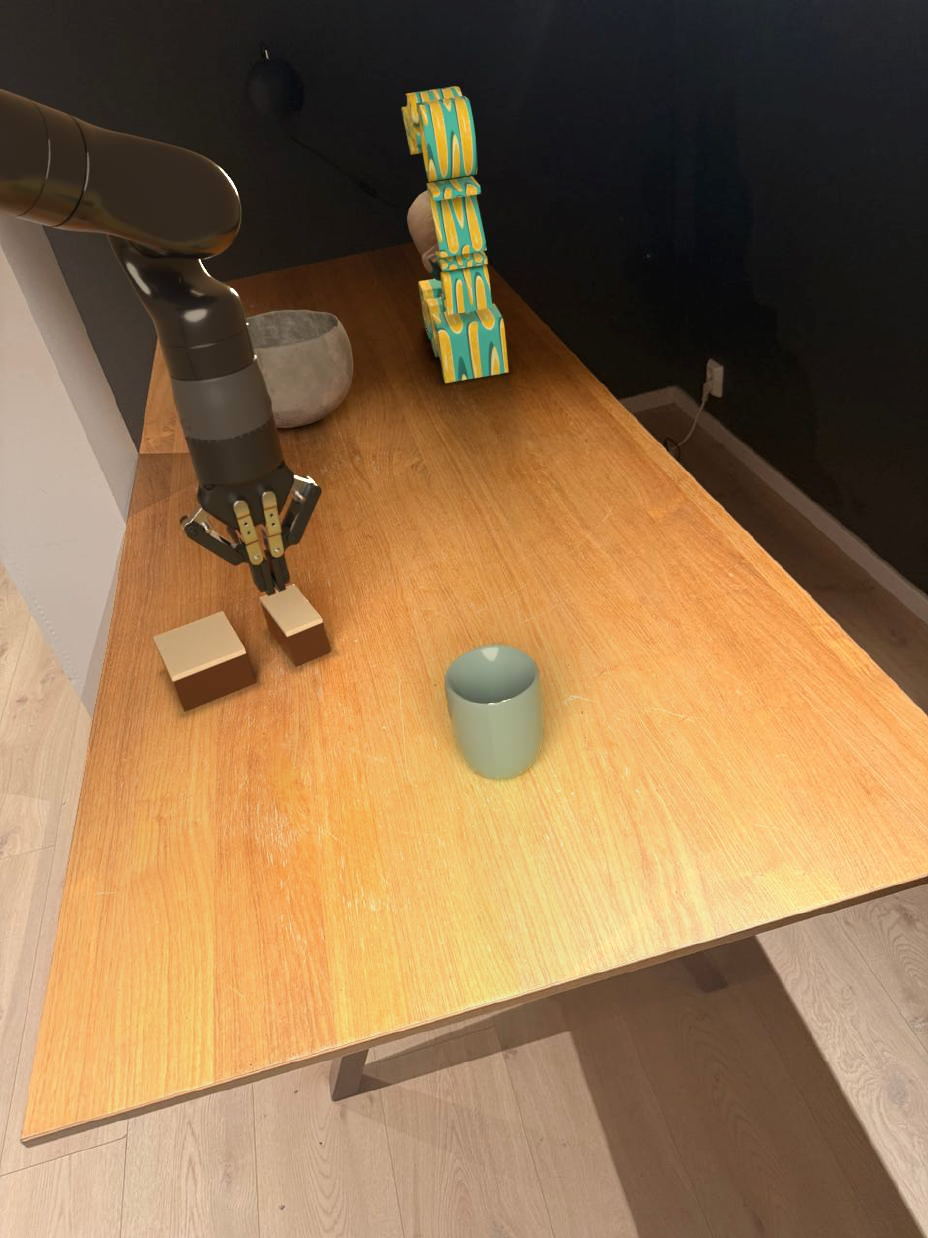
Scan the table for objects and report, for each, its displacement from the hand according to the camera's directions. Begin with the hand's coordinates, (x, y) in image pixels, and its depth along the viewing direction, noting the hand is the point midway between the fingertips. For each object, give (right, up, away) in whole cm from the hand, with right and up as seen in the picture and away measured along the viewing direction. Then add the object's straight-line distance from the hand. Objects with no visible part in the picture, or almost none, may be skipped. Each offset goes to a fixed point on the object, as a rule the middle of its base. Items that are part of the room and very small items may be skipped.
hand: (274, 589), depth 89 cm
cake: (-9, -9, +10) cm, 16 cm away
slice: (0, -5, +13) cm, 14 cm away
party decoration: (+17, +45, +78) cm, 92 cm away
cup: (+21, -15, -5) cm, 27 cm away
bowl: (-8, +29, +61) cm, 68 cm away
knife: (-3, +3, +5) cm, 6 cm away
